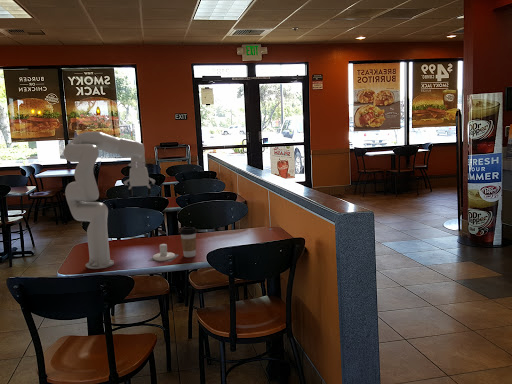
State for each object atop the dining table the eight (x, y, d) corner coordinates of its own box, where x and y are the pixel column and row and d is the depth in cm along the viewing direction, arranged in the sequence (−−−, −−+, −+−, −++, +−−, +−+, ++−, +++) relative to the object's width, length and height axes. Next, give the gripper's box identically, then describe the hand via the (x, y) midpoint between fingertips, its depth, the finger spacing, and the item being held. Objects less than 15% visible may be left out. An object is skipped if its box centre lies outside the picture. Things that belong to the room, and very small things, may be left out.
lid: (170, 261, 233) (169, 248, 232) (149, 260, 236) (148, 247, 235) (178, 254, 244) (177, 242, 243) (158, 254, 246) (157, 241, 245)
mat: (170, 262, 233) (170, 261, 233) (148, 262, 235) (148, 260, 235) (179, 255, 245) (179, 254, 244) (157, 255, 247) (157, 254, 247)
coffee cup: (182, 259, 237) (180, 230, 235) (180, 255, 246) (179, 226, 243) (198, 257, 239) (197, 228, 237) (197, 253, 247) (195, 225, 245)
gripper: (121, 166, 258) (123, 197, 261) (153, 165, 260) (155, 196, 262) (123, 165, 266) (126, 195, 268) (154, 164, 267) (156, 194, 270)
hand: (140, 195), depth 265 cm, fingers open, 9 cm apart
